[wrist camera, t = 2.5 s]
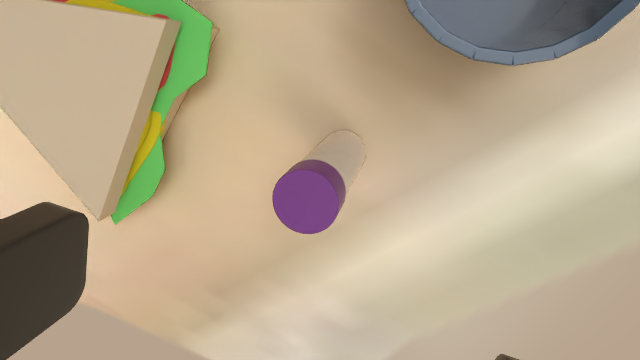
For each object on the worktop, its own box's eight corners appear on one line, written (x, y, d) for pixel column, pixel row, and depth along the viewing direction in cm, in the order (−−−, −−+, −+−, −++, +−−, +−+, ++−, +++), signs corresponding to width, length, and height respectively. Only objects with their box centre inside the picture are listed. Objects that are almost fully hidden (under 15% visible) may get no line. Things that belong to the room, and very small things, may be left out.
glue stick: (315, 167, 30) (266, 222, 21) (326, 122, 29) (279, 160, 20) (360, 181, 29) (329, 243, 21) (373, 136, 28) (346, 181, 20)
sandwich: (28, -169, 28) (-53, -210, 23) (270, 59, 29) (238, 64, 24) (-62, 34, 33) (-142, 34, 29) (142, 221, 34) (96, 250, 29)
